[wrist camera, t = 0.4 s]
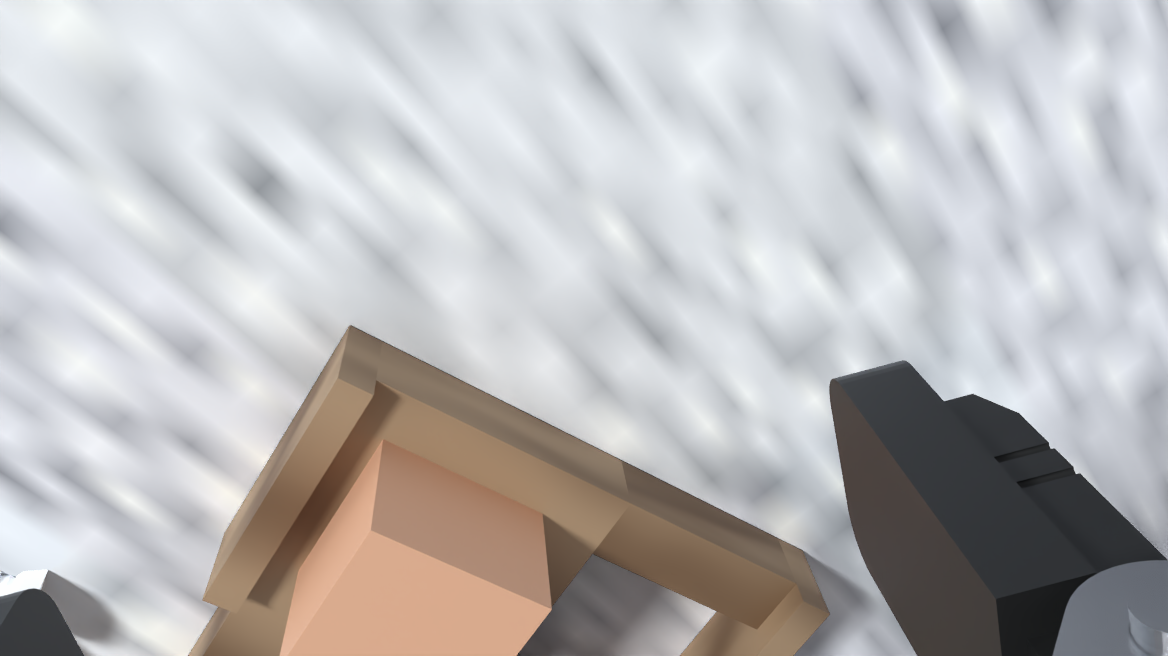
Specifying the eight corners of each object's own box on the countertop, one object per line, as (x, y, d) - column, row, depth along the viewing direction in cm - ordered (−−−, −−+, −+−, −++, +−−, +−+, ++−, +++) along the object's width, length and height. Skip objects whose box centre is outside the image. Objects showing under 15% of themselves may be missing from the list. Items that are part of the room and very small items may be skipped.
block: (382, 439, 29) (370, 530, 26) (542, 513, 31) (551, 609, 27) (298, 570, 31) (275, 673, 27) (453, 635, 32) (451, 740, 29)
